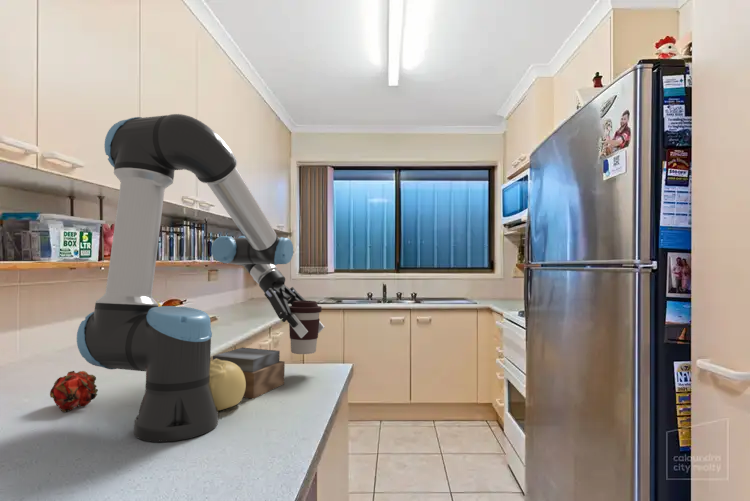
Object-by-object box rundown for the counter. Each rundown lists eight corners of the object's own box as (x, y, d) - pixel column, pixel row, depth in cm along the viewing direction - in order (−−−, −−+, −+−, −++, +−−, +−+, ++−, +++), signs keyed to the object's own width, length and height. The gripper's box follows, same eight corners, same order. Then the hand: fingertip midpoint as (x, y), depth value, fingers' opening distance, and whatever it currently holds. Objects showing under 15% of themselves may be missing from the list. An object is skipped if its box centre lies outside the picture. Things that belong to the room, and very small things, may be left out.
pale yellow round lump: (181, 405, 100) (183, 358, 100) (233, 396, 108) (234, 351, 108) (198, 419, 91) (200, 367, 92) (253, 408, 99) (254, 360, 99)
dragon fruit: (82, 405, 104) (73, 430, 94) (47, 388, 101) (33, 412, 90) (107, 375, 106) (101, 396, 95) (73, 357, 102) (62, 377, 91)
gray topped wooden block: (253, 398, 106) (254, 361, 106) (206, 392, 110) (206, 356, 111) (284, 383, 119) (284, 350, 119) (240, 378, 123) (241, 346, 124)
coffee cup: (302, 357, 122) (304, 302, 123) (279, 352, 128) (280, 300, 129) (327, 352, 130) (328, 301, 131) (304, 348, 136) (305, 299, 137)
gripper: (280, 284, 146) (322, 335, 140) (237, 286, 125) (284, 346, 119) (294, 269, 144) (337, 320, 138) (254, 268, 123) (302, 328, 117)
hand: (313, 332), depth 128 cm, fingers closed on coffee cup, 10 cm apart
